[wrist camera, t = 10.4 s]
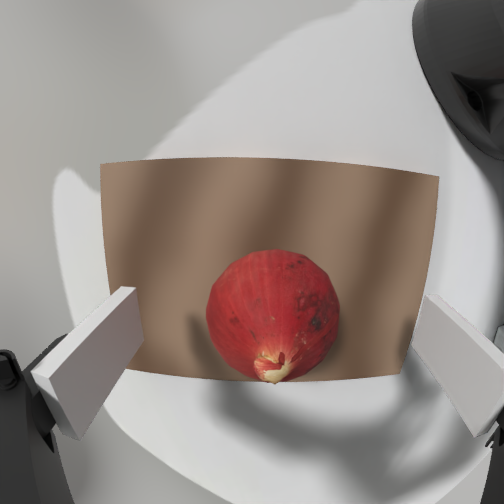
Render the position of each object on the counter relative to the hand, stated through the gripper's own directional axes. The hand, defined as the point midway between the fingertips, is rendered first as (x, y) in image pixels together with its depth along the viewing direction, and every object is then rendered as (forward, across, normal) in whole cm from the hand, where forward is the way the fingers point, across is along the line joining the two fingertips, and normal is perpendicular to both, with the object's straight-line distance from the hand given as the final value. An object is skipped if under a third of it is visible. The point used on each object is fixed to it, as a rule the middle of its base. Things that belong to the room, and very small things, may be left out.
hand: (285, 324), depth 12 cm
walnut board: (+6, -1, 0) cm, 6 cm away
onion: (+5, 0, 0) cm, 5 cm away
